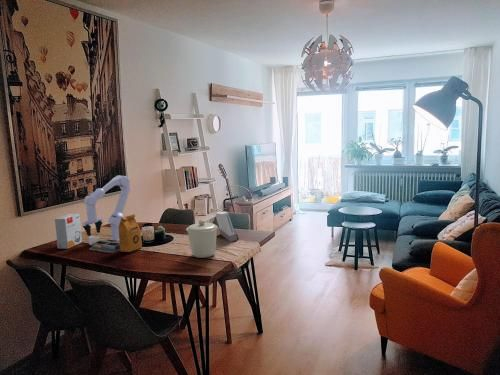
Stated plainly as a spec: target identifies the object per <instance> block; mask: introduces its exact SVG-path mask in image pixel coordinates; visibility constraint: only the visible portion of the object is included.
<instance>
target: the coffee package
mask: <svg viewBox="0 0 500 375" xmlns="http://www.w3.org/2000/svg"><path fill="white" fill-rule="evenodd" d="M135 217H136V214H134V213H133V214H130V215H126V216H123V218H121V220H120V224H119V240H118V241H119V242H118V243H120V250H119V252H121V253H122V252H125V253H130V252H134V251H137V250H140V249H142V247H143V242H142V241H143V240H142V231H141V228H140V226H139V224H138V222H137V221H136V218H135Z"/></svg>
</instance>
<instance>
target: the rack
mask: <svg viewBox="0 0 500 375" xmlns="http://www.w3.org/2000/svg"><path fill="white" fill-rule="evenodd" d="M88 250H89V251H94V252H102V253H108V254H114V253H116V252H120V243H119V242H117V241H111V240H110V241H109V240H101V239H100V241H97V242H94V243H92V245H91V247H90V248H89V249H88Z"/></svg>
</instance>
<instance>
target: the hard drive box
mask: <svg viewBox="0 0 500 375" xmlns="http://www.w3.org/2000/svg"><path fill="white" fill-rule="evenodd" d="M80 217H81V216H80V213H68V214H66V215H65V214H64V215H62V216H59V217H57V218H54V224H55V234H56V242H57V249H64V250H65V249H70V248H73V247H74V246H76V245H79V244H81V243H83V235H82V228H81V218H80Z"/></svg>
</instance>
